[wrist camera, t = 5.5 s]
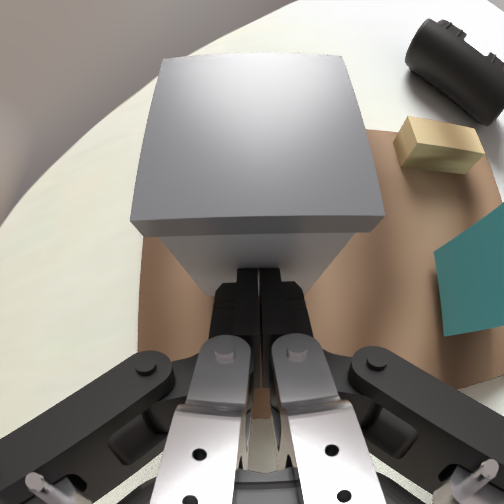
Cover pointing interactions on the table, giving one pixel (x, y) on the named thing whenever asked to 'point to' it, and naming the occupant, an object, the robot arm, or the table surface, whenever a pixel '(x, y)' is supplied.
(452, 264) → the teal key
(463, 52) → the end cap
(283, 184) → the grey key
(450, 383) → the key base
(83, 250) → the table surface
